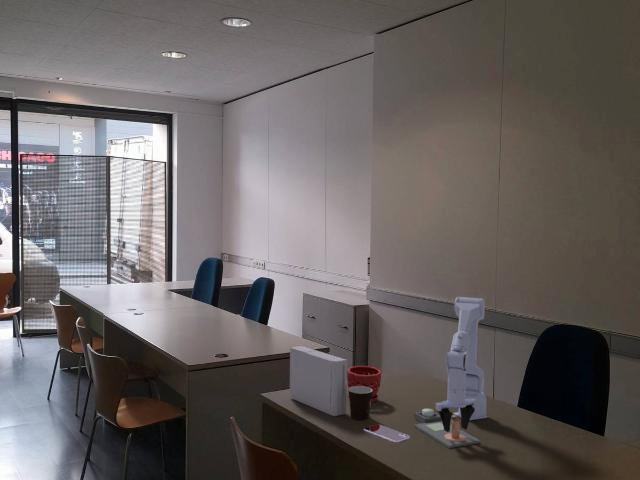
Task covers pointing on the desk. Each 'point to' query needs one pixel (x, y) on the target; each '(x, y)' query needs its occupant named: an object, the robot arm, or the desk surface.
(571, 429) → the desk surface
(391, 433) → the mobile phone
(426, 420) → the button housing
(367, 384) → the plant pot
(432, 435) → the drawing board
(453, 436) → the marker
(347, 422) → the desk surface
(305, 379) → the game console
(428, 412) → the button
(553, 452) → the desk surface
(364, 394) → the coffee mug
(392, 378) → the desk surface
